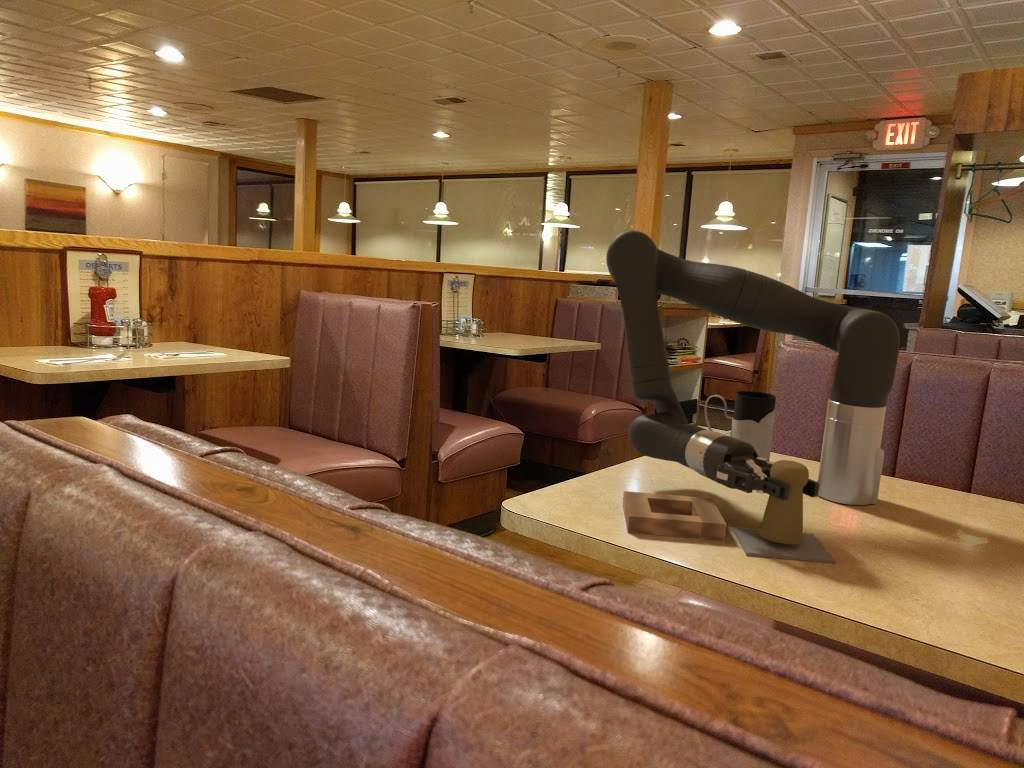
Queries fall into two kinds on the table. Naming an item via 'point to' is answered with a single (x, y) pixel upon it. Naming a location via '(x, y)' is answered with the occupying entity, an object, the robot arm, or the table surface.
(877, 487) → the robot arm
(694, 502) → the socket block
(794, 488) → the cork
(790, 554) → the rubber mat
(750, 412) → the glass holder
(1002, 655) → the table surface
